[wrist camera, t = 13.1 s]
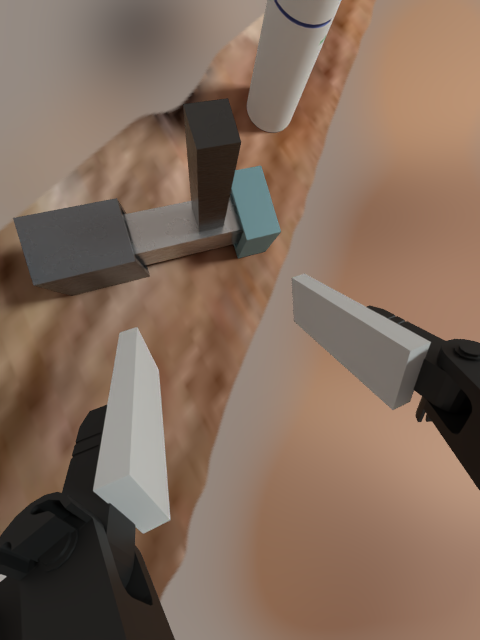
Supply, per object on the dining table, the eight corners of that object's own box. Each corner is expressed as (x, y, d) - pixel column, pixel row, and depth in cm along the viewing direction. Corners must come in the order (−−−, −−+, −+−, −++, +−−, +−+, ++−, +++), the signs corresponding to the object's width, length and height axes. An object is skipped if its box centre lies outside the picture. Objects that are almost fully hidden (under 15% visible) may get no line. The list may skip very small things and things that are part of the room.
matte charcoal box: (71, 295, 30) (33, 285, 23) (56, 243, 30) (13, 218, 23) (149, 276, 32) (135, 261, 25) (135, 227, 32) (116, 198, 25)
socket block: (237, 258, 34) (246, 240, 27) (221, 204, 34) (226, 172, 27) (265, 251, 35) (280, 231, 28) (249, 198, 35) (261, 165, 28)
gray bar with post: (126, 270, 30) (28, 191, 13) (116, 235, 30) (4, 113, 13) (255, 238, 33) (312, 141, 16) (246, 207, 33) (293, 78, 16)
